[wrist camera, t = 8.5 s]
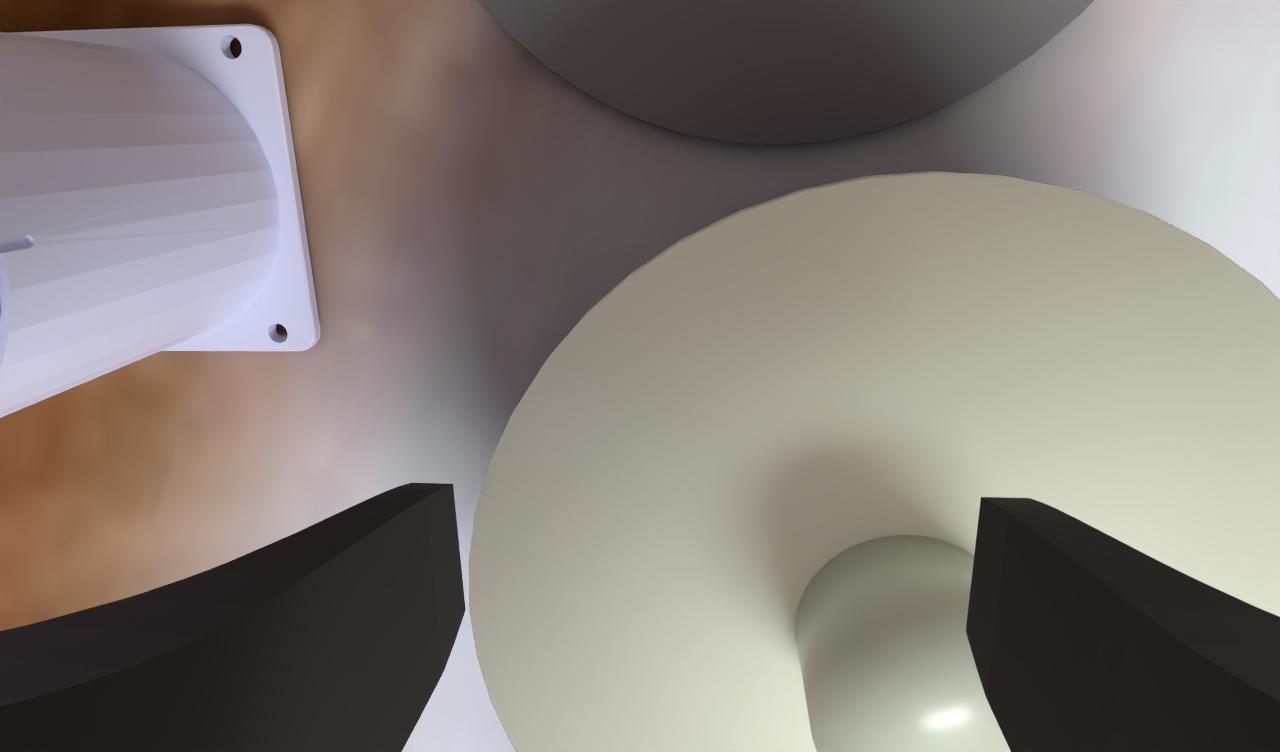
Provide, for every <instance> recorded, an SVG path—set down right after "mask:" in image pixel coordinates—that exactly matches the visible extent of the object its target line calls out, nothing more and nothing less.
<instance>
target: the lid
mask: <svg viewBox="0 0 1280 752" xmlns="http://www.w3.org/2000/svg"><path fill="white" fill-rule="evenodd" d="M981 497H1004V498H1031V499H1034V500H1036V501H1039V502H1042V503H1044V504H1047V505H1049V506H1051V507H1054V508H1056V509H1058V510H1060V511H1062V512H1064V513H1066V514H1068V515H1070V516H1072V517H1074V518H1076V519H1078V520H1080V521H1082V522H1084V523H1086V524H1088V525H1090V526H1092V527H1094V528H1096V529H1098V530H1100V531H1102V532H1103V533H1105V534H1107V535H1109V536H1111V537H1113V538H1115V539H1117V540H1119V541H1121V542H1123V543H1125V544H1127V545H1129V546H1130V547H1132V548H1134V549H1136V550H1138V551H1140V552H1142V553H1144V554H1146V555H1148V556H1150V557H1152V558H1154V559H1156V560H1158V561H1160V562H1162V563H1164V564H1166V565H1168V566H1170V567H1172V568H1174V569H1176V570H1178V571H1180V572H1182V573H1184V574H1186V575H1188V576H1190V577H1192V578H1194V579H1196V580H1198V581H1201V582H1203V583H1205V584H1207V585H1209V586H1212V587H1214V588H1216V589H1218V590H1220V591H1222V592H1225V593H1227V594H1229V595H1231V596H1233V597H1236V598H1238V599H1240V600H1242V601H1244V602H1246V603H1249V604H1251V605H1253V606H1255V607H1258V608H1260V609H1262V610H1265V611H1267V612H1269V613H1272V614H1274V615H1277V616H1279V617H1280V300H1279V299H1278V298H1277V297H1276V296H1275V295H1274V294H1273V293H1272V292H1271V291H1270V290H1269V289H1268V288H1267V287H1266V286H1265V285H1264V284H1263V283H1262V282H1261V281H1260V280H1258V279H1257V278H1255V277H1254V276H1253V275H1251V274H1250V273H1248V272H1247V271H1246V270H1244V269H1243V268H1242V267H1240V266H1239V265H1237V264H1236V263H1235V262H1233V261H1232V260H1230V259H1229V258H1228V257H1226V256H1225V255H1224V254H1222V253H1221V252H1219V251H1218V250H1217V249H1215V248H1214V247H1213V246H1211V245H1210V244H1208V243H1206V242H1204V241H1202V240H1200V239H1198V238H1196V237H1194V236H1192V235H1190V234H1188V233H1186V232H1185V231H1183V230H1181V229H1179V228H1177V227H1175V226H1173V225H1171V224H1169V223H1167V222H1165V221H1163V220H1161V219H1159V218H1157V217H1155V216H1153V215H1151V214H1149V213H1146V212H1144V211H1141V210H1138V209H1135V208H1132V207H1129V206H1126V205H1123V204H1120V203H1117V202H1114V201H1111V200H1108V199H1106V198H1103V197H1100V196H1097V195H1094V194H1091V193H1088V192H1085V191H1081V190H1075V189H1070V188H1065V187H1060V186H1055V185H1049V184H1044V183H1039V182H1034V181H1029V180H1024V179H1018V178H1013V177H1008V176H1003V175H995V174H977V173H960V172H942V171H924V172H910V173H897V174H883V175H870V176H862V177H857V178H852V179H847V180H842V181H838V182H833V183H828V184H823V185H818V186H813V187H809V188H804V189H799V190H796V191H793V192H791V193H788V194H785V195H782V196H779V197H776V198H773V199H770V200H767V201H764V202H762V203H759V204H756V205H753V206H750V207H747V208H744V209H741V210H738V211H736V212H734V213H732V214H730V215H728V216H726V217H724V218H722V219H720V220H718V221H716V222H714V223H712V224H710V225H708V226H706V227H704V228H702V229H700V230H698V231H696V232H694V233H692V234H690V235H688V236H686V237H684V238H682V239H681V240H679V241H678V242H676V243H675V244H673V245H672V246H670V247H669V248H667V249H666V250H664V251H663V252H661V253H660V254H658V255H657V256H655V257H654V258H652V259H651V260H649V261H648V262H646V263H645V264H643V265H642V266H640V267H639V268H637V269H636V270H634V271H633V272H632V273H630V274H629V275H628V276H627V277H626V278H625V279H624V280H622V281H621V282H620V283H619V284H618V285H617V286H616V287H615V288H613V289H612V290H611V291H610V292H609V293H608V294H607V295H606V296H604V297H603V298H602V299H601V300H600V301H599V302H598V303H596V304H595V305H594V306H593V307H592V308H591V309H590V310H589V311H587V313H586V314H585V315H584V316H583V317H582V318H581V320H580V321H579V322H578V323H577V324H576V325H575V327H574V328H573V329H572V330H571V331H570V332H569V334H568V335H567V336H566V337H565V338H564V339H563V341H562V342H561V343H560V344H559V345H558V346H557V348H556V349H555V350H554V351H553V352H552V353H551V355H550V356H549V357H548V359H547V360H546V362H545V363H544V365H543V366H542V368H541V369H540V371H539V372H538V374H537V375H536V377H535V378H534V380H533V382H532V383H531V385H530V386H529V388H528V389H527V391H526V393H525V394H524V396H523V397H522V399H521V400H520V402H519V403H518V405H517V407H516V408H515V410H514V411H513V413H512V415H511V417H510V419H509V421H508V423H507V426H506V428H505V430H504V432H503V434H502V437H501V439H500V441H499V443H498V445H497V448H496V450H495V452H494V454H493V456H492V459H491V461H490V463H489V467H488V470H487V474H486V477H485V481H484V484H483V488H482V491H481V495H480V498H479V501H478V505H477V508H476V512H475V519H474V526H473V534H472V541H471V549H470V556H469V607H470V616H471V622H472V628H473V635H474V641H475V647H476V653H477V658H478V661H479V664H480V668H481V671H482V674H483V677H484V680H485V683H486V687H487V690H488V693H489V696H490V699H491V702H492V704H493V706H494V709H495V711H496V713H497V715H498V717H499V719H500V721H501V723H502V725H503V727H504V730H505V732H506V734H507V736H508V738H509V740H510V742H511V744H512V746H513V747H514V749H515V750H516V752H1011V751H1010V749H1009V746H1008V744H1007V742H1006V740H1005V738H1004V736H1003V733H1002V731H1001V729H1000V727H999V725H998V723H997V721H996V718H995V716H994V714H993V712H992V710H991V707H990V705H989V703H988V701H987V699H986V696H985V693H984V690H983V687H982V683H981V680H980V677H979V674H978V671H977V668H976V665H975V661H974V658H973V654H972V651H971V647H970V644H969V641H968V637H967V634H966V623H967V615H968V606H969V597H970V588H971V580H972V571H973V562H974V553H975V545H976V536H977V527H978V518H979V509H980V501H981Z"/></svg>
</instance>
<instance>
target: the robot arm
mask: <svg viewBox="0 0 1280 752" xmlns="http://www.w3.org/2000/svg"><path fill="white" fill-rule="evenodd" d="M233 38H237V39H238V40H239V41H240V43H241V46H242V52H241V54H240V56H239V57H238V58H235V57H234V56H233V55H232V53H231V50H230V43H231V41H232V40H233ZM277 324H281V325H282V326H283V327H285V328H286V331H287V333H288V335H287V339H284V338H282V337H280V336H279V335H278V333H277V331H276V325H277ZM319 338H320V323H319V316H318V310H317V303H316V296H315V289H314V282H313V276H312V269H311V262H310V255H309V248H308V242H307V235H306V228H305V221H304V214H303V208H302V201H301V194H300V187H299V180H298V173H297V167H296V160H295V153H294V146H293V139H292V133H291V126H290V119H289V112H288V105H287V99H286V92H285V85H284V78H283V71H282V65H281V58H280V51H279V46H278V43H277V40H276V38H275V36H274V35H273V34H272V32H271V31H269V30H268V29H266V28H265V27H262V26H258V25H252V24H231V25H203V26H176V27H149V28H121V29H94V30H67V31H39V32H12V33H5V32H0V418H1V417H3V416H5V415H8V414H10V413H13V412H15V411H17V410H20V409H22V408H25V407H27V406H29V405H32V404H34V403H37V402H39V401H41V400H44V399H46V398H49V397H51V396H53V395H56V394H58V393H61V392H63V391H65V390H68V389H70V388H73V387H75V386H77V385H80V384H82V383H85V382H87V381H89V380H92V379H94V378H97V377H99V376H101V375H104V374H106V373H109V372H111V371H113V370H116V369H118V368H121V367H123V366H125V365H128V364H130V363H133V362H135V361H137V360H140V359H142V358H145V357H147V356H149V355H152V354H154V353H157V352H159V351H303V350H307V349H309V348H310V347H312V346H314V345H315V344H316V343H317V342H318V340H319ZM464 613H465V601H464V591H463V581H462V571H461V561H460V551H459V541H458V531H457V521H456V511H455V501H454V491H453V484H435V483H409V484H406V485H402V486H399V487H396V488H394V489H391V490H389V491H386V492H384V493H381V494H379V495H377V496H374V497H372V498H370V499H368V500H366V501H363V502H361V503H359V504H357V505H355V506H353V507H350V508H348V509H346V510H344V511H342V512H340V513H338V514H336V515H333V516H331V517H329V518H327V519H325V520H323V521H321V522H319V523H316V524H314V525H312V526H310V527H308V528H306V529H304V530H302V531H299V532H297V533H295V534H293V535H290V536H288V537H286V538H283V539H281V540H279V541H276V542H274V543H272V544H270V545H267V546H265V547H263V548H260V549H258V550H256V551H253V552H251V553H249V554H246V555H244V556H242V557H239V558H237V559H235V560H232V561H230V562H228V563H225V564H223V565H220V566H218V567H215V568H213V569H210V570H207V571H205V572H202V573H199V574H197V575H194V576H191V577H188V578H186V579H183V580H180V581H177V582H174V583H171V584H168V585H165V586H162V587H159V588H156V589H153V590H150V591H148V592H145V593H141V594H138V595H135V596H132V597H129V598H126V599H122V600H118V601H115V602H111V603H107V604H104V605H100V606H97V607H93V608H89V609H86V610H82V611H78V612H75V613H71V614H68V615H64V616H60V617H57V618H53V619H49V620H46V621H42V622H38V623H34V624H30V625H26V626H22V627H17V628H13V629H9V630H4V631H0V752H402V750H403V748H404V746H405V744H406V742H407V740H408V738H409V737H410V735H411V733H412V731H413V729H414V727H415V725H416V724H417V722H418V720H419V718H420V716H421V714H422V712H423V710H424V708H425V706H426V704H427V703H428V701H429V699H430V697H431V695H432V693H433V691H434V689H435V687H436V685H437V683H438V681H439V679H440V677H441V675H442V673H443V671H444V669H445V666H446V664H447V661H448V658H449V656H450V653H451V650H452V648H453V645H454V642H455V639H456V636H457V633H458V630H459V627H460V624H461V621H462V618H463V616H464ZM966 634H967V637H968V641H969V644H970V647H971V651H972V654H973V658H974V661H975V665H976V668H977V671H978V674H979V677H980V680H981V683H982V687H983V690H984V693H985V696H986V699H987V701H988V703H989V705H990V707H991V710H992V712H993V714H994V716H995V718H996V721H997V723H998V725H999V727H1000V729H1001V731H1002V733H1003V736H1004V738H1005V740H1006V742H1007V744H1008V746H1009V749H1010V751H1011V752H1280V617H1279V616H1277V615H1274V614H1272V613H1269V612H1267V611H1265V610H1262V609H1260V608H1258V607H1255V606H1253V605H1251V604H1249V603H1246V602H1244V601H1242V600H1240V599H1238V598H1236V597H1233V596H1231V595H1229V594H1227V593H1225V592H1222V591H1220V590H1218V589H1216V588H1214V587H1212V586H1209V585H1207V584H1205V583H1203V582H1201V581H1198V580H1196V579H1194V578H1192V577H1190V576H1188V575H1186V574H1184V573H1182V572H1180V571H1178V570H1176V569H1174V568H1172V567H1170V566H1168V565H1166V564H1164V563H1162V562H1160V561H1158V560H1156V559H1154V558H1152V557H1150V556H1148V555H1146V554H1144V553H1142V552H1140V551H1138V550H1136V549H1134V548H1132V547H1130V546H1129V545H1127V544H1125V543H1123V542H1121V541H1119V540H1117V539H1115V538H1113V537H1111V536H1109V535H1107V534H1105V533H1103V532H1102V531H1100V530H1098V529H1096V528H1094V527H1092V526H1090V525H1088V524H1086V523H1084V522H1082V521H1080V520H1078V519H1076V518H1074V517H1072V516H1070V515H1068V514H1066V513H1064V512H1062V511H1060V510H1058V509H1056V508H1054V507H1051V506H1049V505H1047V504H1044V503H1042V502H1039V501H1036V500H1034V499H1031V498H1004V497H981V501H980V509H979V518H978V527H977V536H976V545H975V553H974V562H973V571H972V580H971V588H970V597H969V606H968V615H967V623H966Z"/></svg>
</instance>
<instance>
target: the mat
mask: <svg viewBox="0 0 1280 752" xmlns="http://www.w3.org/2000/svg"><path fill="white" fill-rule="evenodd" d="M479 1H480V2H481V3H482V5H483V6H484V7H485V8H486V9H487V10H488V11H489V12H490V14H491V15H492V16H493V17H494V18H495V19H496V20H497V21H498V23H499V24H500V25H501V26H502V27H503V28H504V29H505V31H506V32H507V33H508V34H510V35H511V36H512V37H513V38H514V39H515V40H516V41H518V42H519V43H520V44H521V45H522V46H523V47H524V48H526V49H527V50H528V51H529V52H530V53H531V54H532V55H534V56H535V57H536V58H537V59H538V60H539V61H540V62H542V63H543V64H544V65H545V66H546V67H547V68H549V69H550V70H552V71H553V72H555V73H556V74H558V75H559V76H561V77H562V78H564V79H565V80H567V81H568V82H570V83H571V84H573V85H574V86H576V87H577V88H579V89H580V90H582V91H583V92H585V93H586V94H588V95H589V96H591V97H593V98H595V99H597V100H599V101H601V102H603V103H606V104H608V105H610V106H612V107H614V108H616V109H618V110H620V111H622V112H624V113H626V114H628V115H630V116H632V117H634V118H637V119H640V120H643V121H646V122H649V123H652V124H655V125H658V126H661V127H664V128H667V129H670V130H673V131H676V132H679V133H682V134H687V135H693V136H698V137H704V138H709V139H714V140H720V141H725V142H731V143H750V144H772V145H787V144H799V143H810V142H821V141H833V140H837V139H842V138H846V137H851V136H855V135H860V134H864V133H869V132H873V131H878V130H882V129H886V128H889V127H891V126H894V125H897V124H900V123H903V122H905V121H908V120H911V119H914V118H916V117H919V116H922V115H925V114H927V113H930V112H933V111H936V110H938V109H940V108H942V107H944V106H946V105H948V104H950V103H952V102H954V101H955V100H957V99H959V98H961V97H963V96H965V95H967V94H969V93H971V92H973V91H975V90H977V89H979V88H981V87H983V86H985V85H987V84H988V83H990V82H991V81H993V80H994V79H996V78H997V77H999V76H1000V75H1002V74H1003V73H1005V72H1006V71H1008V70H1009V69H1011V68H1012V67H1014V66H1015V65H1017V64H1018V63H1020V62H1021V61H1023V60H1024V59H1026V58H1027V57H1029V56H1030V55H1032V54H1033V53H1035V52H1036V51H1037V50H1038V49H1040V48H1041V47H1042V46H1043V45H1044V44H1046V43H1047V42H1048V41H1049V40H1050V39H1051V38H1053V37H1054V36H1055V35H1056V34H1057V33H1059V32H1060V31H1061V30H1062V29H1063V28H1064V27H1066V26H1067V25H1068V24H1069V23H1070V22H1072V21H1073V20H1074V19H1075V18H1076V17H1077V16H1079V15H1080V14H1081V13H1082V12H1083V11H1084V10H1085V9H1086V8H1087V7H1088V6H1089V5H1090V4H1091V3H1092V2H1093V0H479Z"/></svg>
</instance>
